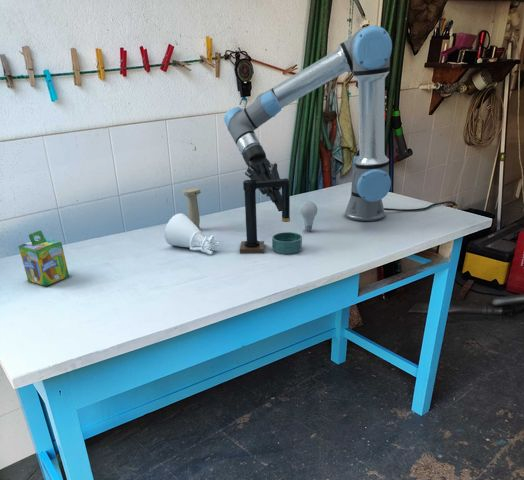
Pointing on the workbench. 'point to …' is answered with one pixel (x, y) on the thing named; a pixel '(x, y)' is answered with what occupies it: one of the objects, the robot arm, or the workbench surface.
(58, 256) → the chalk box
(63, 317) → the workbench surface
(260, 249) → the black post
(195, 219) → the handle
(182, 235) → the rocket engine
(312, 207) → the lightbulb
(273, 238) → the basin
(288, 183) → the spout
